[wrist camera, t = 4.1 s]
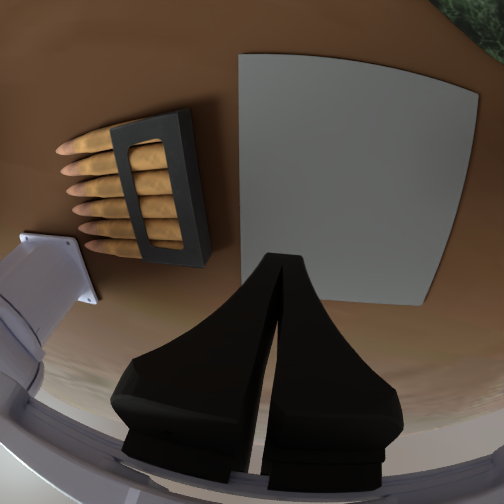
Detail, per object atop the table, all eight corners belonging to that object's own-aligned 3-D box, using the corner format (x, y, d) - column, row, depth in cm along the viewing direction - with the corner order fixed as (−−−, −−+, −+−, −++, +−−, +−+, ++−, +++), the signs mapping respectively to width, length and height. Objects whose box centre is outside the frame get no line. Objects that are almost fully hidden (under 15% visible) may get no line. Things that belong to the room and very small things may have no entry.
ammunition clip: (204, 269, 20) (82, 259, 23) (212, 254, 22) (94, 248, 24) (177, 111, 15) (46, 143, 17) (190, 107, 16) (61, 137, 19)
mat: (242, 288, 23) (241, 291, 23) (240, 55, 14) (238, 54, 14) (420, 302, 21) (421, 305, 21) (475, 93, 12) (478, 94, 12)
